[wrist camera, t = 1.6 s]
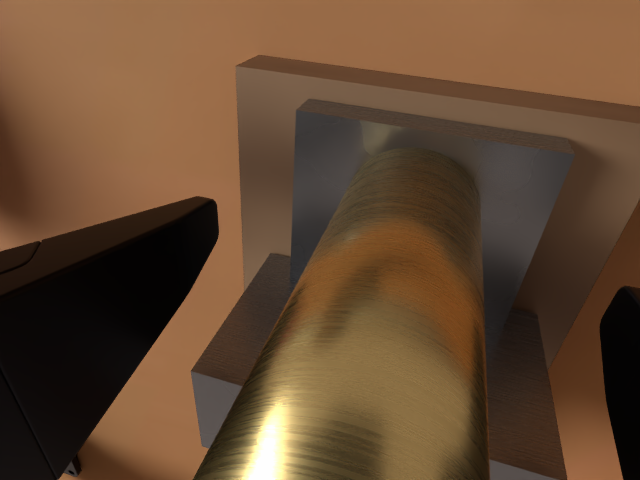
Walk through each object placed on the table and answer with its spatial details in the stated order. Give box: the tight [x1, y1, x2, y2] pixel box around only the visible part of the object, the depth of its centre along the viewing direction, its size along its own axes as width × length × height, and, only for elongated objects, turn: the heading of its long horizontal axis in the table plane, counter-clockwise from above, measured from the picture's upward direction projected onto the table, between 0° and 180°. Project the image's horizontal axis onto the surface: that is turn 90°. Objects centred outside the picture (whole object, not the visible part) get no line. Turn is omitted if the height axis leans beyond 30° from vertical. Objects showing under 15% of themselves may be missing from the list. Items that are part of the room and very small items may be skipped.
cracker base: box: [236, 55, 640, 370], centre depth 15 cm, size 23×10×6 cm, turn 175°
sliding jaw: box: [191, 99, 575, 480], centre depth 9 cm, size 8×8×9 cm
